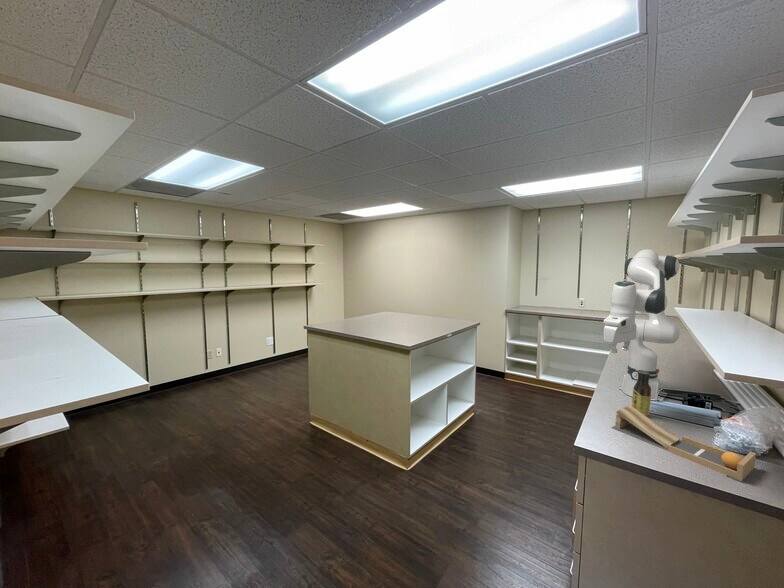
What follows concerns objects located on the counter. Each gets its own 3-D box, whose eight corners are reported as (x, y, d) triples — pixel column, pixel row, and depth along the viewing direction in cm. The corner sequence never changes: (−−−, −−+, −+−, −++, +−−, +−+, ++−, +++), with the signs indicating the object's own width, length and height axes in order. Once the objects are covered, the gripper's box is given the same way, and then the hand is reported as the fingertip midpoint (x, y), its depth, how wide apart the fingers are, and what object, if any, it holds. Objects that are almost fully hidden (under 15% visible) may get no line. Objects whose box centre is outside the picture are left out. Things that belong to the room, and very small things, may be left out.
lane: (626, 420, 136) (627, 408, 135) (755, 469, 104) (757, 453, 103) (610, 428, 129) (611, 415, 129) (742, 482, 97) (744, 466, 97)
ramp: (626, 421, 134) (628, 404, 134) (679, 441, 119) (681, 422, 119) (614, 427, 129) (615, 410, 129) (668, 449, 114) (670, 429, 114)
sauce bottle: (630, 411, 145) (634, 368, 143) (648, 415, 141) (652, 371, 140) (631, 416, 140) (634, 372, 138) (649, 420, 136) (653, 375, 134)
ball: (724, 447, 107) (745, 453, 103) (726, 462, 107) (747, 469, 102) (717, 451, 105) (738, 457, 101) (718, 466, 105) (740, 474, 100)
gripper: (625, 316, 143) (623, 347, 145) (601, 320, 133) (599, 352, 134) (642, 319, 138) (639, 350, 139) (618, 323, 128) (615, 356, 129)
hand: (619, 351), depth 137 cm, fingers open, 8 cm apart
